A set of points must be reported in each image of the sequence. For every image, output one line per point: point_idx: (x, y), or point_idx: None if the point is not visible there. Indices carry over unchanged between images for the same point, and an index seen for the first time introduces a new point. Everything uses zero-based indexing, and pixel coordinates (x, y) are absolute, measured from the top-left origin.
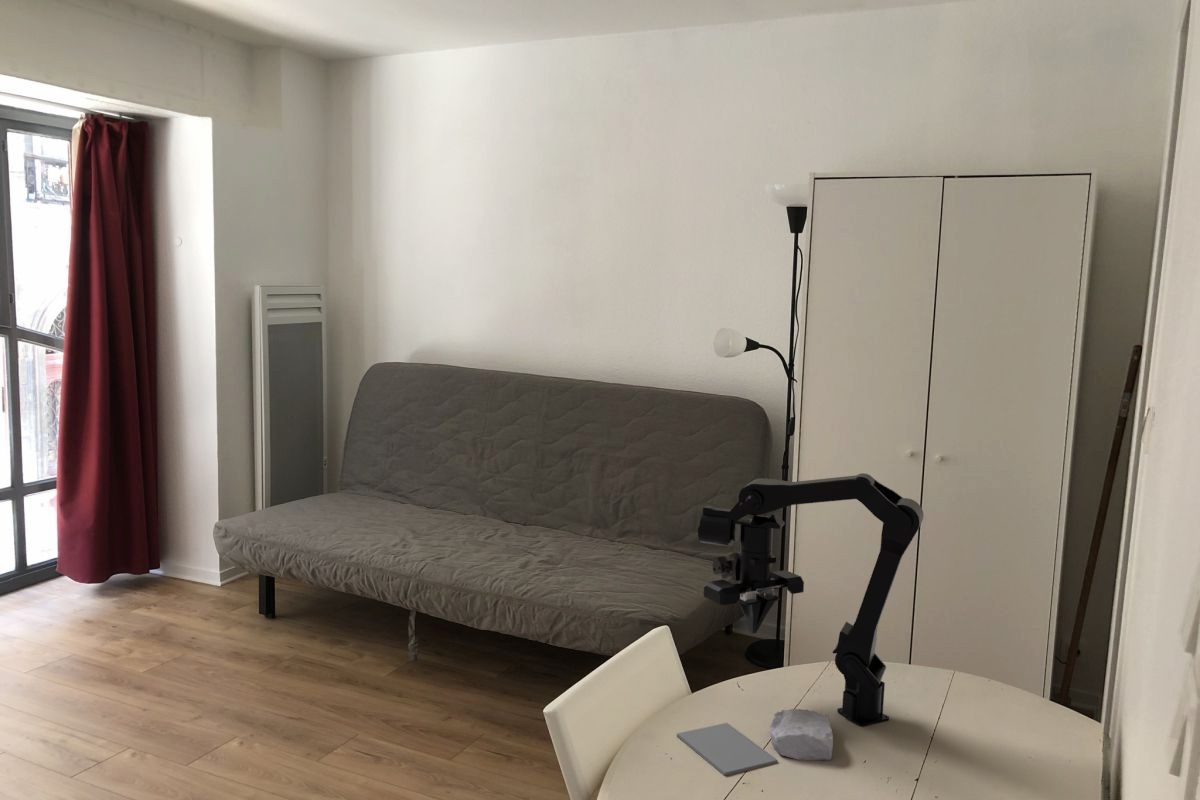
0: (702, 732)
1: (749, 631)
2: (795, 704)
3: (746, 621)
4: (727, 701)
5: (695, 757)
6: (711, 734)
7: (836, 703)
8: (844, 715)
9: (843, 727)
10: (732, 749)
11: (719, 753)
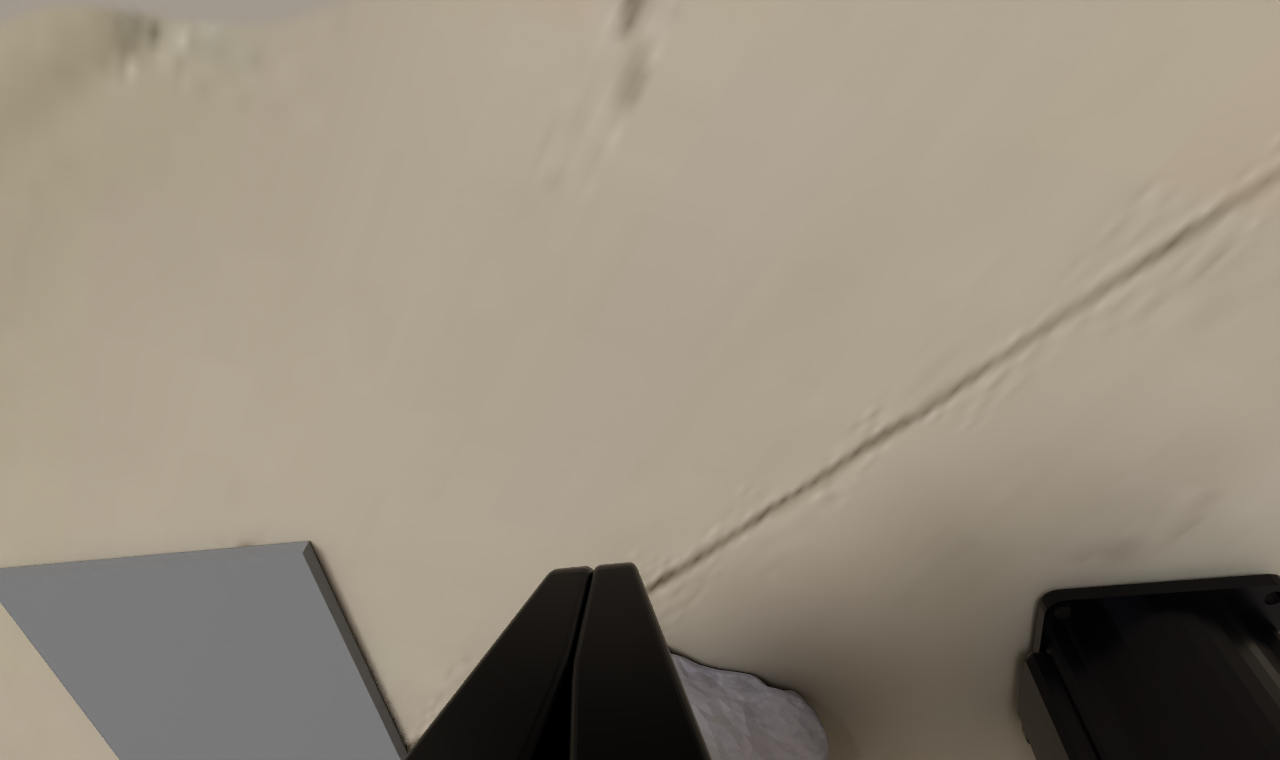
0: (134, 603)
1: (547, 583)
2: (884, 423)
3: (434, 740)
4: (417, 260)
5: (85, 722)
6: (182, 628)
7: (1165, 477)
8: (1034, 649)
9: (942, 691)
10: (259, 745)
11: (190, 753)
